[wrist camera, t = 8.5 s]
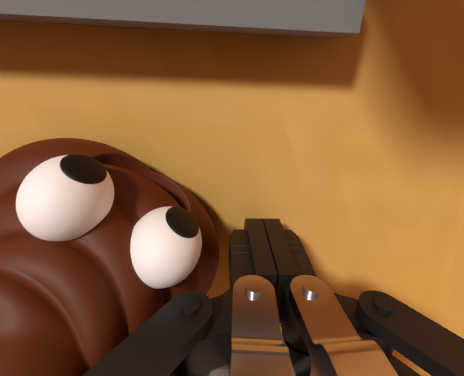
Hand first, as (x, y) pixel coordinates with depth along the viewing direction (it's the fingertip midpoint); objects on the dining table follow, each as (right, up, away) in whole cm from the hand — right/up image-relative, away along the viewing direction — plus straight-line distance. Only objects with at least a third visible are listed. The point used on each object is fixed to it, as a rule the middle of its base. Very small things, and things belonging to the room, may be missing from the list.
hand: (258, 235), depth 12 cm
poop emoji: (-7, +1, +1) cm, 7 cm away
